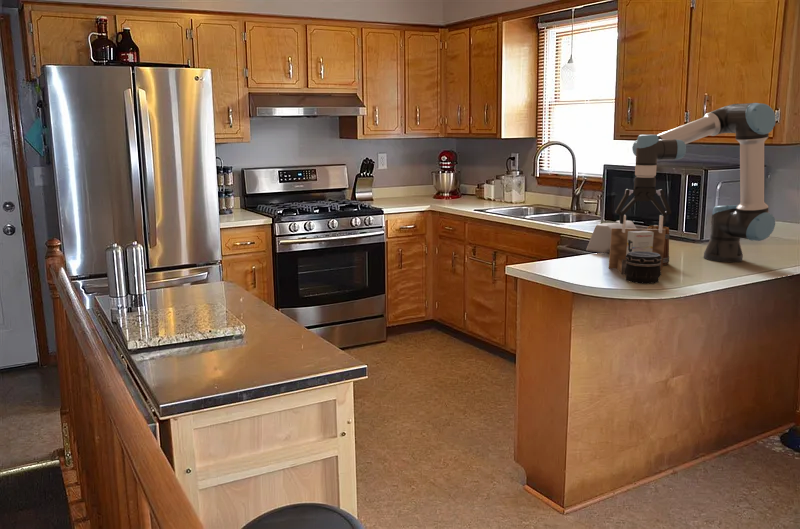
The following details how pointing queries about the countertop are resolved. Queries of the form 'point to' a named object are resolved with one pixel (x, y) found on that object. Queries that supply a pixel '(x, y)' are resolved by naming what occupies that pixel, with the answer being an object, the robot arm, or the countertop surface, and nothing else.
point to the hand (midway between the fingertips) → (641, 232)
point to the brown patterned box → (620, 246)
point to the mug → (666, 244)
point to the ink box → (640, 241)
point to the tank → (604, 236)
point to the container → (643, 267)
